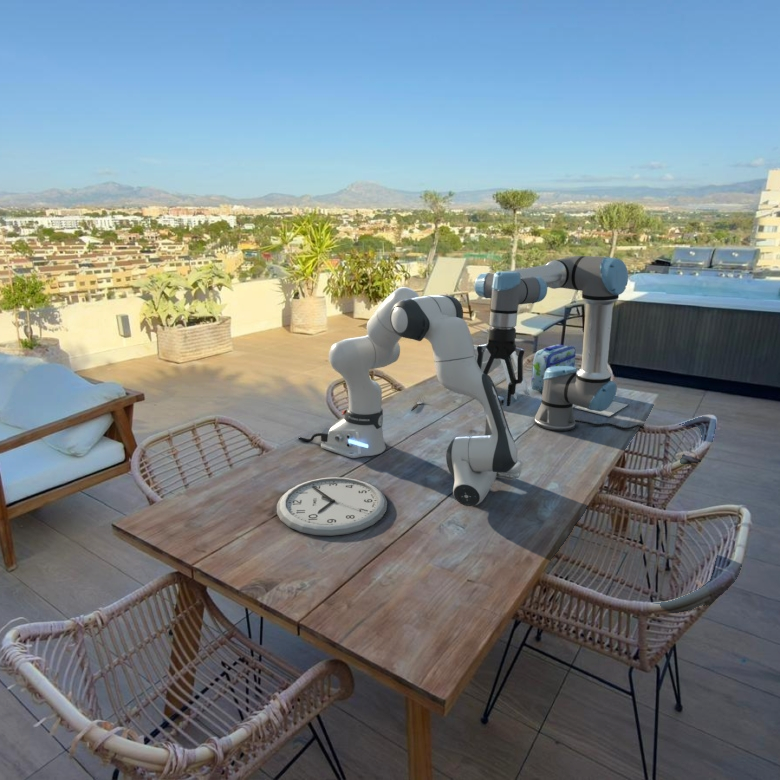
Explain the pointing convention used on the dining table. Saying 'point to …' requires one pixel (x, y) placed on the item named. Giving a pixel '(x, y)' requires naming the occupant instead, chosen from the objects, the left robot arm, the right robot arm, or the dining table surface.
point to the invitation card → (609, 411)
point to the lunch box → (550, 362)
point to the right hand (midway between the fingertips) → (496, 403)
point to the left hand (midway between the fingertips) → (492, 453)
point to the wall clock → (331, 506)
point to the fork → (418, 403)
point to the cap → (501, 400)
